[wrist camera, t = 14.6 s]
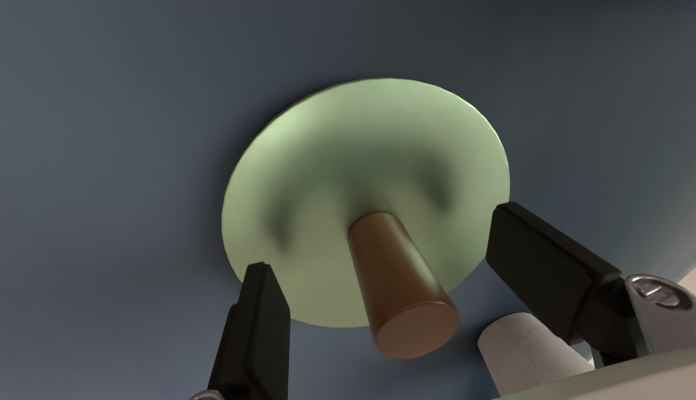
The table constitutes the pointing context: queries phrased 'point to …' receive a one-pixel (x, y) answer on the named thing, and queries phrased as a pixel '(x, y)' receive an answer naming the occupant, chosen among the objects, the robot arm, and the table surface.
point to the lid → (369, 207)
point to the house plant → (527, 354)
